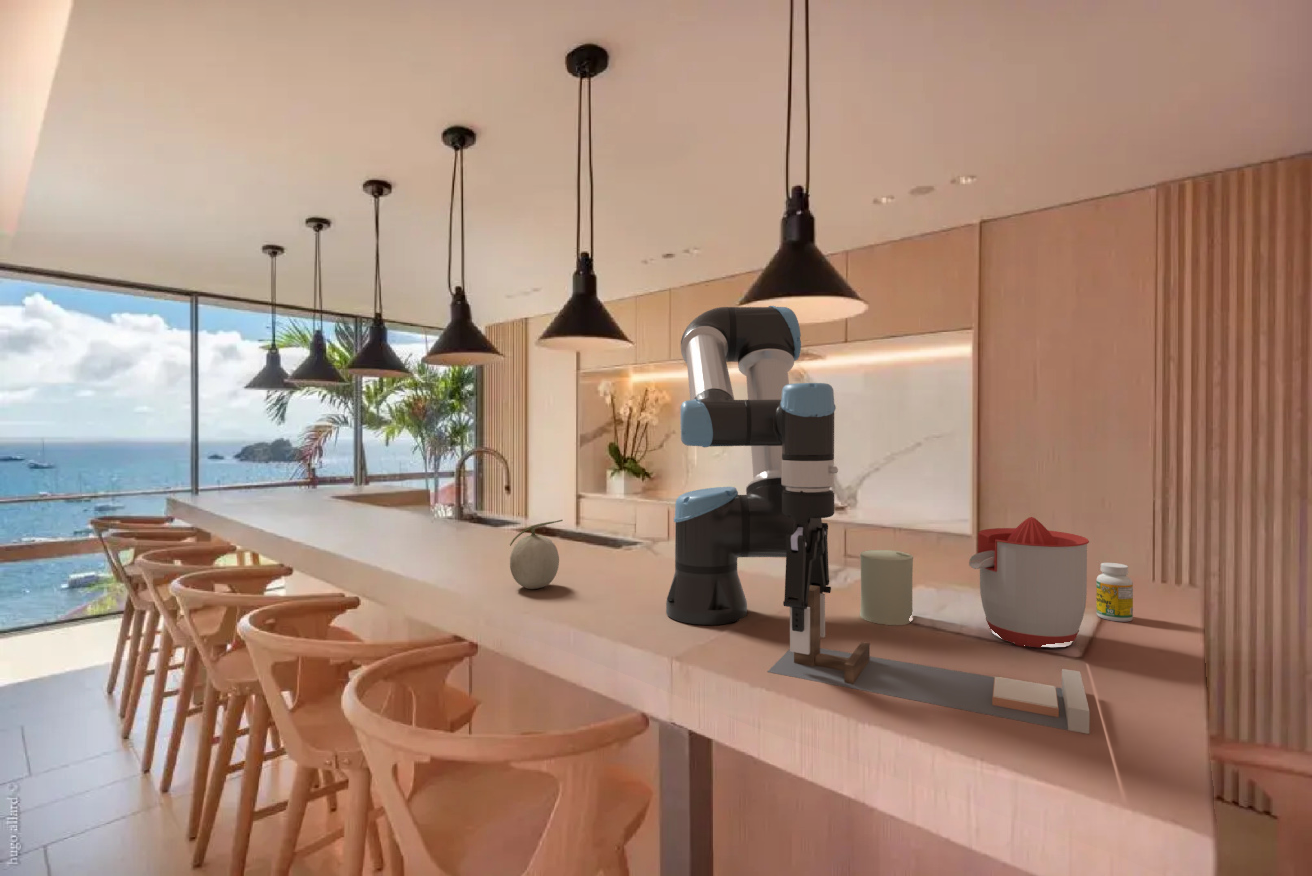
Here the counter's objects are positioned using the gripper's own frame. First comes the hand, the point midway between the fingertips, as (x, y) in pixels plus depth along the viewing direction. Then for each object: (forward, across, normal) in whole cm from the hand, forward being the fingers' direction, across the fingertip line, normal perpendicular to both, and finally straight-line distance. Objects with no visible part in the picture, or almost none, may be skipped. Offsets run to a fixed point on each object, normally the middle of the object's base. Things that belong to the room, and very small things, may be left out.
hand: (808, 643), depth 95 cm
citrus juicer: (+3, +28, -28) cm, 40 cm away
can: (+3, +29, -6) cm, 30 cm away
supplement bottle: (+3, +48, -42) cm, 64 cm away
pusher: (+3, 0, -3) cm, 4 cm away
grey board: (+3, 0, -15) cm, 15 cm away
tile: (+3, 0, -28) cm, 28 cm away
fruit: (+3, +15, +65) cm, 67 cm away
